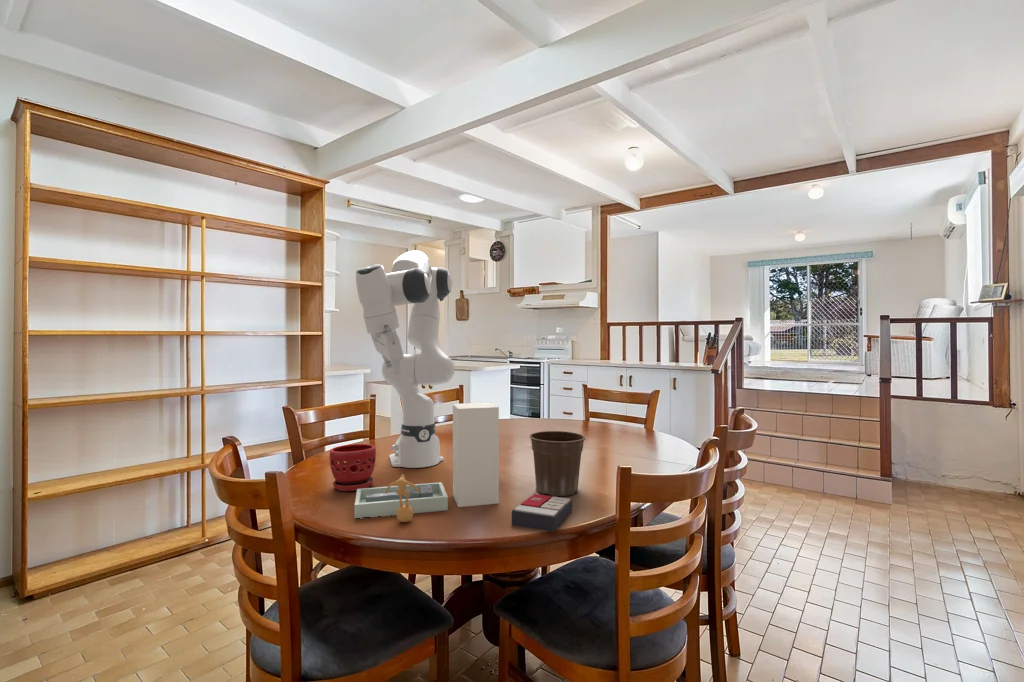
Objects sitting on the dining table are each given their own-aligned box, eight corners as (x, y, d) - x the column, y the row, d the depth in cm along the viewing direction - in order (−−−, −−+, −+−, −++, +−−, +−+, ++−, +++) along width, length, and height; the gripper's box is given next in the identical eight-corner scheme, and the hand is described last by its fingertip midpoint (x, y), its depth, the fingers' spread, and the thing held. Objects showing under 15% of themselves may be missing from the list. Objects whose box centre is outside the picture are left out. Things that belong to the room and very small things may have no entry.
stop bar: (366, 500, 128) (366, 489, 128) (430, 495, 133) (430, 484, 133) (365, 509, 122) (365, 498, 122) (432, 503, 126) (432, 492, 126)
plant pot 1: (384, 483, 148) (384, 444, 147) (355, 496, 135) (355, 453, 135) (350, 478, 152) (350, 440, 152) (319, 490, 140) (319, 449, 140)
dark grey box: (573, 497, 124) (554, 514, 110) (572, 514, 124) (554, 533, 110) (533, 492, 128) (511, 507, 114) (533, 508, 128) (510, 525, 114)
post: (453, 495, 136) (452, 403, 136) (490, 491, 139) (490, 402, 139) (458, 507, 126) (458, 408, 126) (498, 503, 129) (498, 407, 129)
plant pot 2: (568, 479, 151) (568, 428, 150) (596, 495, 136) (596, 438, 136) (520, 486, 144) (520, 432, 144) (544, 503, 129) (544, 443, 129)
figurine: (423, 518, 118) (423, 470, 118) (417, 528, 112) (417, 477, 112) (390, 518, 119) (390, 469, 118) (382, 527, 113) (382, 476, 112)
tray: (357, 501, 131) (357, 488, 131) (441, 494, 137) (441, 482, 136) (354, 519, 118) (354, 504, 118) (447, 510, 124) (447, 496, 124)
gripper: (402, 325, 125) (414, 374, 128) (385, 317, 143) (396, 361, 146) (378, 331, 122) (390, 381, 125) (364, 322, 140) (375, 367, 143)
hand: (393, 370), depth 136 cm, fingers open, 8 cm apart
